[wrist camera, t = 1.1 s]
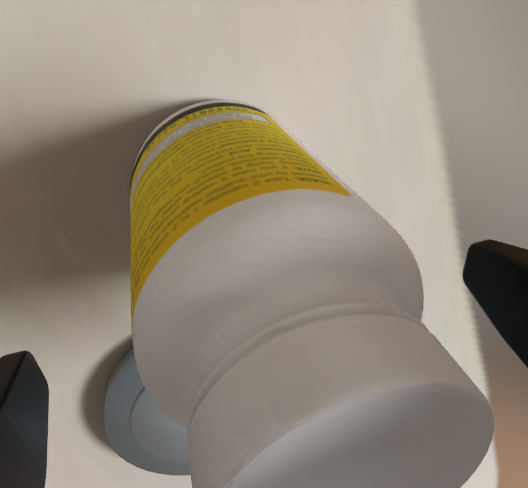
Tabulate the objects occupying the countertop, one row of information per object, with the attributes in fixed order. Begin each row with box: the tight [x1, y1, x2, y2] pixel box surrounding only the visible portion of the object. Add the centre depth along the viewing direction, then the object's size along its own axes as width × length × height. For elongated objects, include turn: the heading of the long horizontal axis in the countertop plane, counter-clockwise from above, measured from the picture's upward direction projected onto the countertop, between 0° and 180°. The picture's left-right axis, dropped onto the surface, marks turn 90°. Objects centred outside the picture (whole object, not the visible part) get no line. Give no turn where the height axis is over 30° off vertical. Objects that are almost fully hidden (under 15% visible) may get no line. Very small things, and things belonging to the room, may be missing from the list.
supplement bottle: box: [130, 100, 494, 488], centre depth 9 cm, size 5×5×10 cm
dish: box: [104, 347, 191, 475], centre depth 18 cm, size 9×9×1 cm
